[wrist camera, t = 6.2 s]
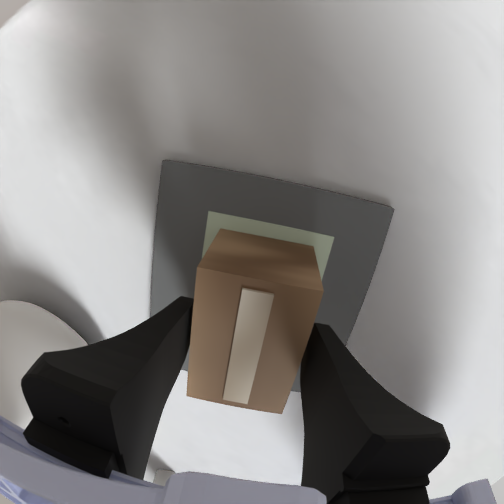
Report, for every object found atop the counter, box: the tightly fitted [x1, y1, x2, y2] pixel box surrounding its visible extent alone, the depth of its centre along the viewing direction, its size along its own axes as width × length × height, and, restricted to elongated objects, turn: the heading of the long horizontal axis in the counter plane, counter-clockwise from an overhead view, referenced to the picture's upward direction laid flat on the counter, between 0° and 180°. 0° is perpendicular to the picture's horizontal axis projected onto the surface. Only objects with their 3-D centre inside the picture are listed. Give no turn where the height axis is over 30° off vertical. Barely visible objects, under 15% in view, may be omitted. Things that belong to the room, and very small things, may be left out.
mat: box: [151, 160, 394, 392], centre depth 15 cm, size 11×10×1 cm
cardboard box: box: [187, 228, 324, 414], centre depth 13 cm, size 4×6×4 cm, turn 170°
